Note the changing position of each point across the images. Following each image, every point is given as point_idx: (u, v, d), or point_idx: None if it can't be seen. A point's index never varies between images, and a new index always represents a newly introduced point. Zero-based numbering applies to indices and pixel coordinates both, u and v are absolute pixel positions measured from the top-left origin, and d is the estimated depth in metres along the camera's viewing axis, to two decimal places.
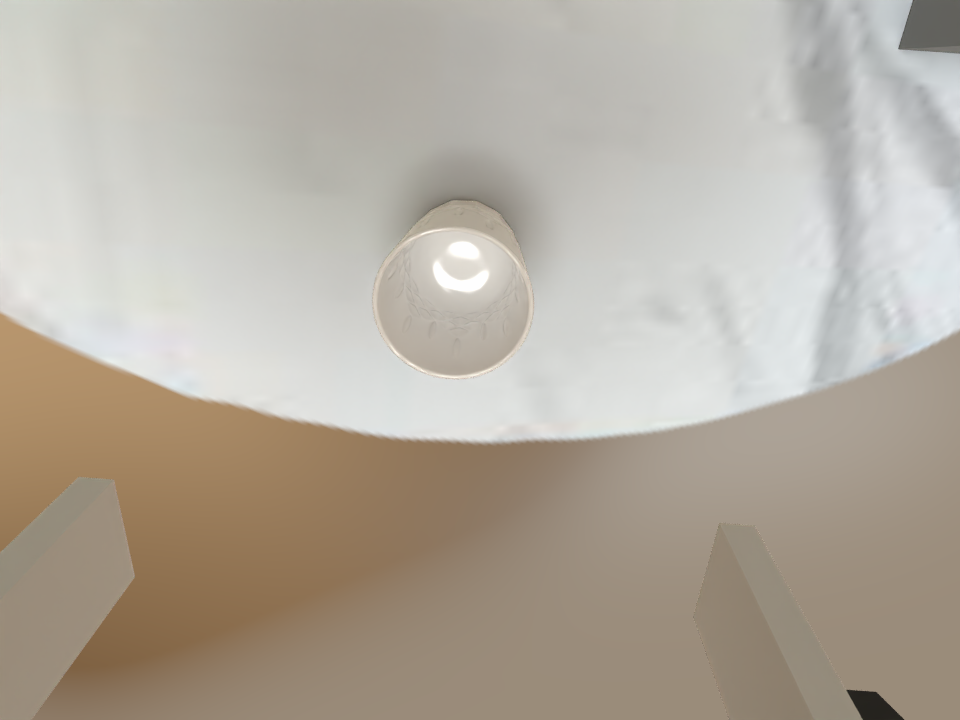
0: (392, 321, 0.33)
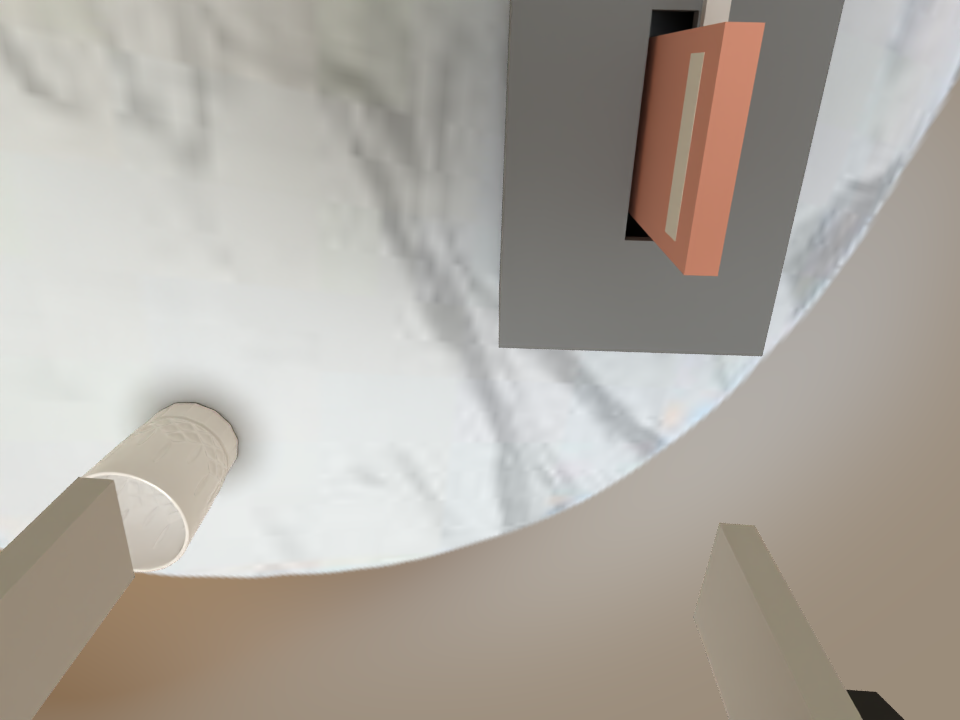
0: None
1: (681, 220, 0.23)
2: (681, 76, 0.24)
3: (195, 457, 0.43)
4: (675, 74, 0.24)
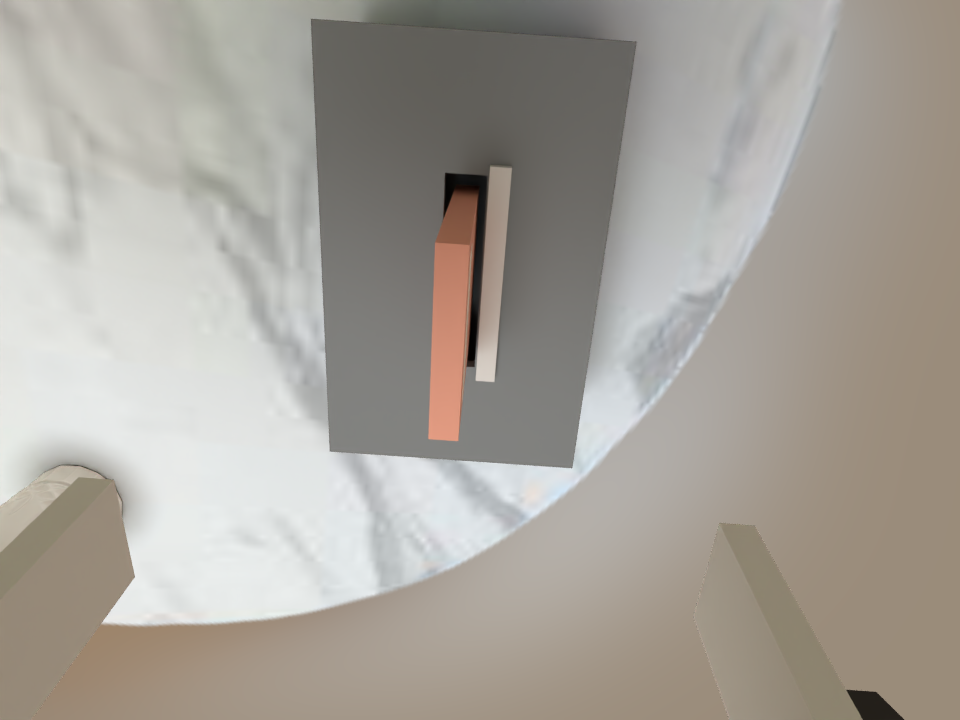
0: None
1: None
2: None
3: None
4: None
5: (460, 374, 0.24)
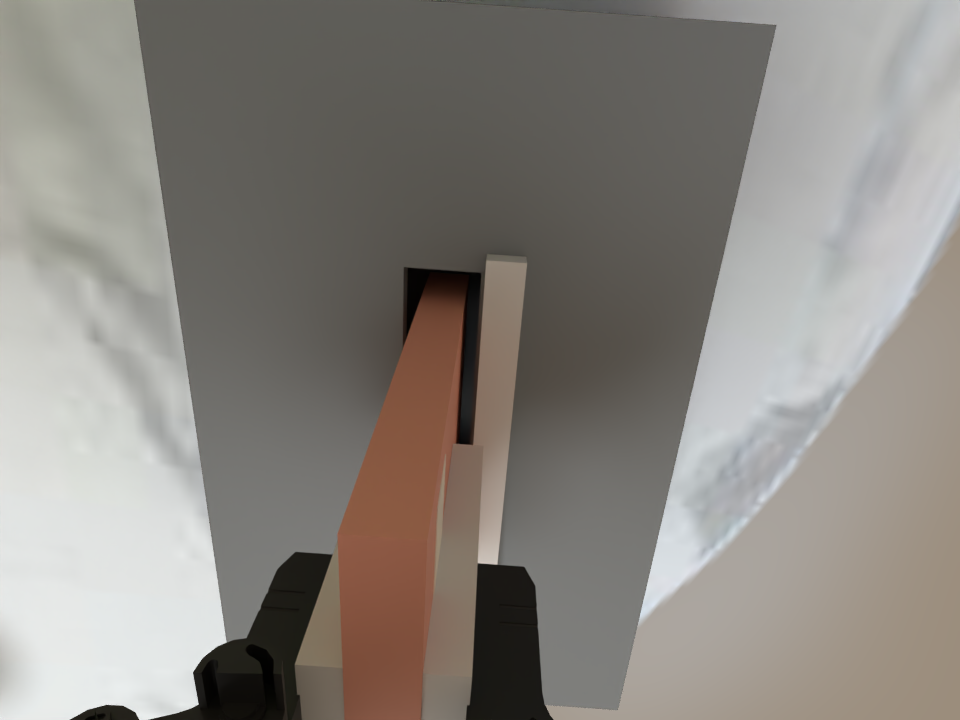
0: None
1: None
2: None
3: None
4: None
5: None
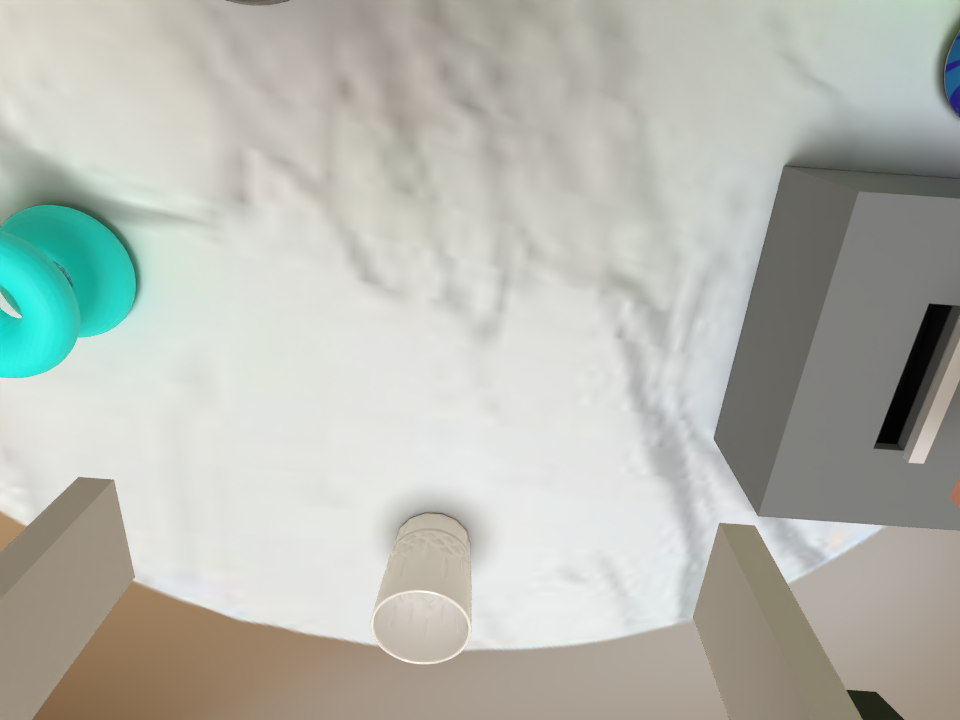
0: (383, 624, 0.51)
1: None
2: None
3: (462, 569, 0.52)
4: None
5: None
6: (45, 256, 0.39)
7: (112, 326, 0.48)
